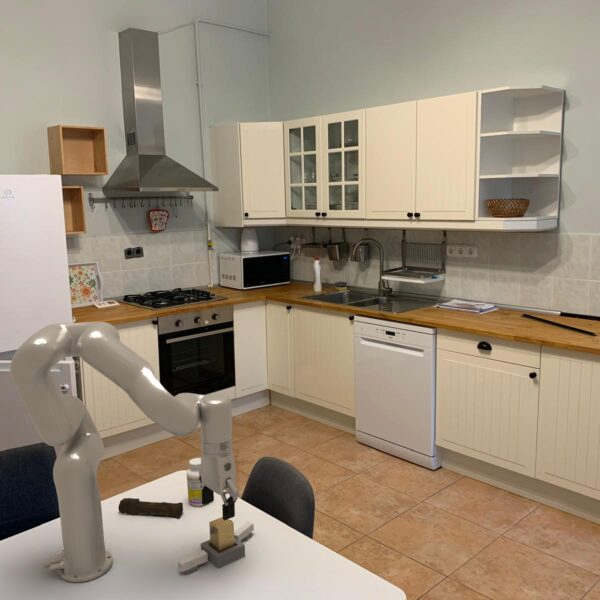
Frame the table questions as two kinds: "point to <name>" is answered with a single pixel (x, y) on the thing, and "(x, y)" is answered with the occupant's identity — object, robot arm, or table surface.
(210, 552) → the socket
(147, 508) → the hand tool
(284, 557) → the table surface
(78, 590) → the table surface
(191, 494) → the supplement bottle
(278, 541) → the table surface
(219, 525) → the tan wooden block
